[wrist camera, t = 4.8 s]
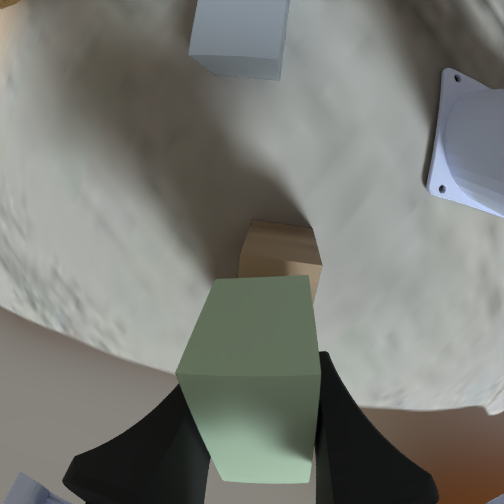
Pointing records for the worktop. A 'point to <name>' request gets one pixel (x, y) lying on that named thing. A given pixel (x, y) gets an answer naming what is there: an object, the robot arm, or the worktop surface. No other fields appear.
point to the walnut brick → (280, 252)
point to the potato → (7, 3)
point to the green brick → (255, 378)
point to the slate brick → (240, 37)
